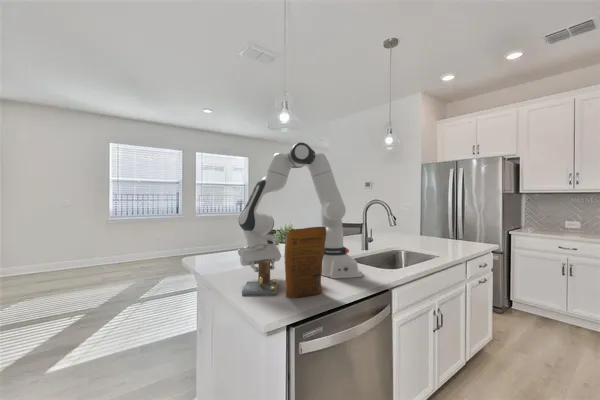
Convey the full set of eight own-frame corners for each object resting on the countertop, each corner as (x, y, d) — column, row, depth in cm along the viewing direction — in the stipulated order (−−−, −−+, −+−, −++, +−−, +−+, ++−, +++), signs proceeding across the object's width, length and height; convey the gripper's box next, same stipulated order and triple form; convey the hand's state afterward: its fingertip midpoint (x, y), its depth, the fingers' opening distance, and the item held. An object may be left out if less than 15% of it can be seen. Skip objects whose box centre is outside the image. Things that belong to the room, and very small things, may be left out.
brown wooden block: (270, 279, 133) (270, 259, 133) (269, 283, 128) (269, 261, 128) (259, 279, 133) (259, 259, 133) (258, 283, 128) (258, 261, 128)
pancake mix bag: (330, 294, 113) (330, 226, 112) (286, 301, 106) (286, 229, 105) (322, 289, 119) (322, 225, 119) (280, 295, 112) (280, 227, 111)
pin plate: (278, 285, 124) (278, 273, 124) (276, 295, 112) (276, 281, 112) (247, 285, 124) (247, 273, 124) (241, 295, 112) (241, 281, 112)
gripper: (238, 244, 131) (245, 269, 122) (277, 240, 141) (286, 263, 133) (235, 252, 135) (242, 277, 126) (273, 248, 145) (281, 270, 137)
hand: (264, 270), depth 130 cm, fingers closed on brown wooden block, 7 cm apart
